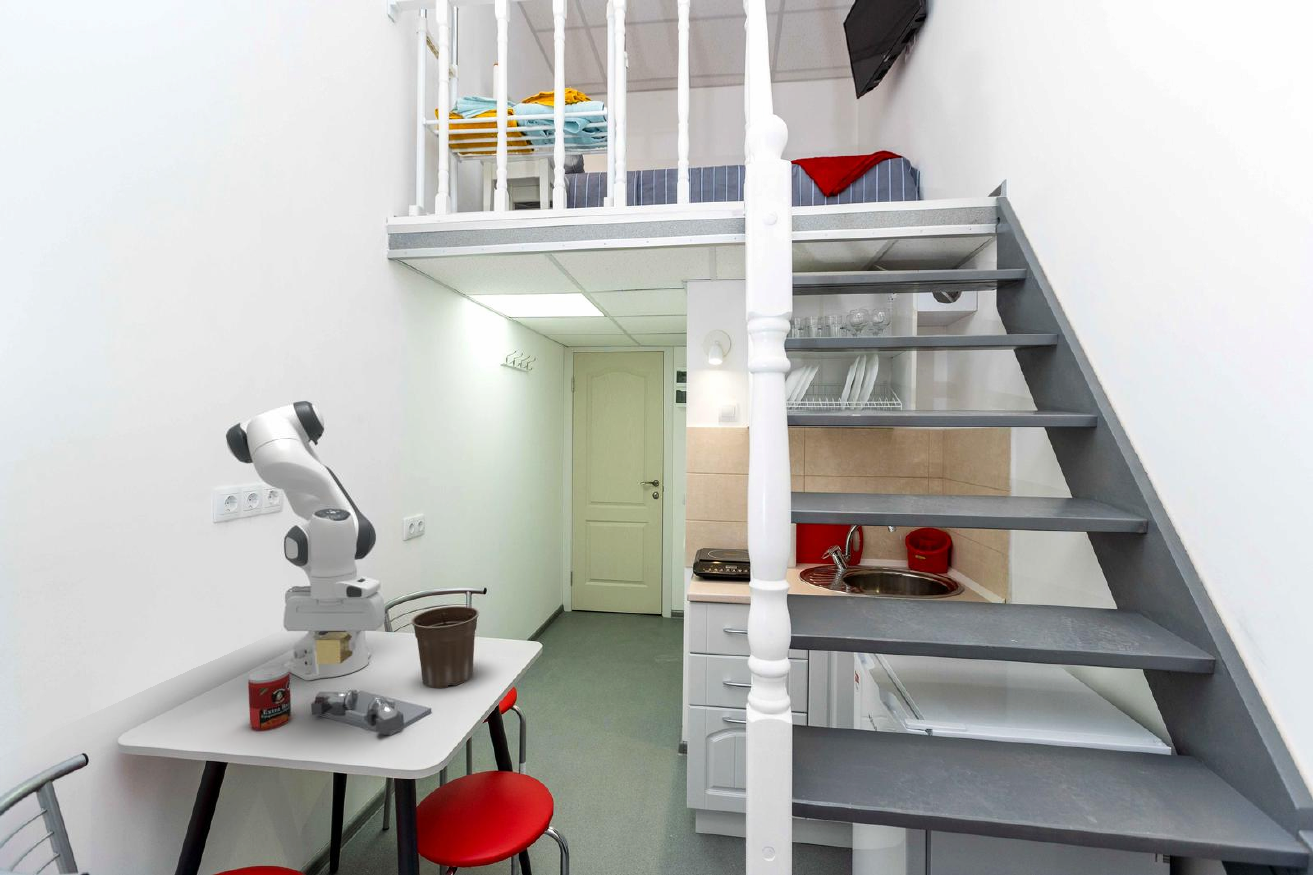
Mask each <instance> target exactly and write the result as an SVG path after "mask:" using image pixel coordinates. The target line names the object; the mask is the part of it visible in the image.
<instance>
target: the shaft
mask: <svg viewBox="0 0 1313 875" xmlns="http://www.w3.org/2000/svg"><path fill="white" fill-rule="evenodd" d="M357 692H358V691H357V690H355V689H350V690H348V691H346V692H345V691H318V692H317V693H316V695H315V698H314V701H313V702H312V703H310V707H311V708H310V709H311V714H310V715H312V716H320V715H323V714H324V713H325V712H327V711H328V710H330V709H331V708H332V707H333V716H343V715H345V711H347V710H351V709H353V708H354V707H355V706H356V703H357V700H358V693H357Z"/></svg>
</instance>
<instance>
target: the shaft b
mask: <svg viewBox="0 0 1313 875" xmlns="http://www.w3.org/2000/svg"><path fill="white" fill-rule="evenodd" d="M381 696H382V695H380V696H379V697H376V698H374V699H373V700H371V702H370V703H369V705H368V711H367V723H368V724H370V725H371V726H374V725H376V731H375V732H377V733H378V734H379V735H384V733H386V732H389V731H392V730H394V729H397V728H400V727H403V726H404V718H403V714H402V713H401V712H400V711H395V710H394V706H392V705H391V704H388V701H387V700H386V699H385V698H384V697H385V696H384V697H381Z"/></svg>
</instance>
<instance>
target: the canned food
mask: <svg viewBox="0 0 1313 875" xmlns="http://www.w3.org/2000/svg"><path fill="white" fill-rule="evenodd" d="M290 673H291V672H289V668H288V667H283V666H282V665H281V666H278V665H277V666H270V667H265V668H260V669H258V670H256V671H253V672H252V673H251V674H249V676H248V679H247V681H248V685H247V686H248V704H249V705H248V706H249V707H248V708H249V709H248V710H249V725H250V728H251V729H253V730H254V731H259V732H260V731H270V730H273V729H276V728H280V727H281V726H284V725H285V724H286V723H288V722H289V721H290V719H291V716H292V707H291V706H292V705H291V704H292V703H291V699H292V698H291V675H290Z"/></svg>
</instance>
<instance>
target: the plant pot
mask: <svg viewBox="0 0 1313 875" xmlns="http://www.w3.org/2000/svg"><path fill="white" fill-rule="evenodd" d="M479 616H480V611H479V610H478V609H476V608H474V607H470V606H462V605H461V606H459V605H458V606H456V605H455V606H445V607H444V606H443V607H438V608H437V607H436V608H433V609H429V610H426V611H423V612H420V613H419V614H417V615H415V616H413V618H412V619H411V625H412V626H413V628H414V635H415V638H416V640H417V648H418V655H419V663H420V670H421V680H422V683H423V685H425V686H426V687H429V688H436V689H439V688H440V689H443V688H447V687H448V686H451V685H452V686H458V685H460V684H463V683H465V682H467V681H468V680H470V679H471V678H472V676H474V658H475V656H474V655H475V653H474V652H475V640H476V639H475V638H476V637H475V636H476V630H477V626H478V625H477V623H478V618H479Z"/></svg>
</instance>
